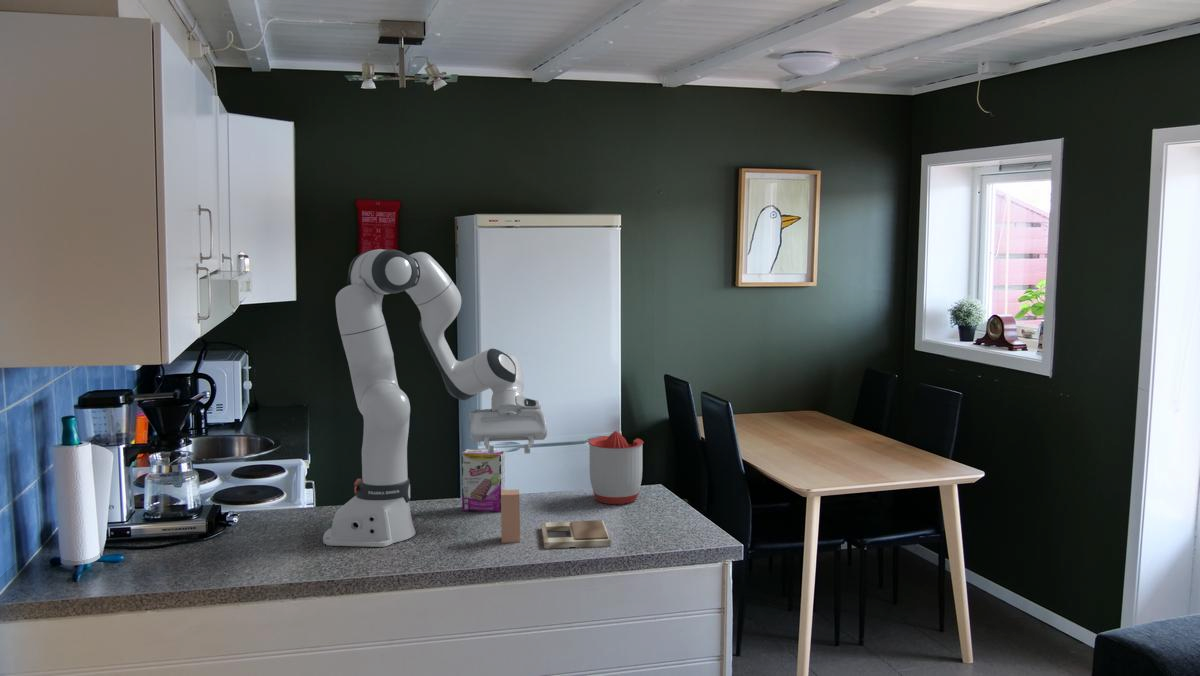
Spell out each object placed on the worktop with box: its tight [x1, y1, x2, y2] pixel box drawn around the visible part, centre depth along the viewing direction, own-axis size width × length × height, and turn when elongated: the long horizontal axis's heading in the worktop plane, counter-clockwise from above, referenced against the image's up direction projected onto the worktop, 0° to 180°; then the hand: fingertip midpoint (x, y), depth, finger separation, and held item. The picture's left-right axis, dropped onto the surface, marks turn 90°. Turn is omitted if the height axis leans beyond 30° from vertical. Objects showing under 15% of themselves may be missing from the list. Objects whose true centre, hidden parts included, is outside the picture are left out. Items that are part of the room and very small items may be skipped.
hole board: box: [541, 519, 612, 550], centre depth 233 cm, size 16×16×2 cm
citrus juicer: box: [588, 430, 644, 505], centre depth 266 cm, size 16×17×20 cm
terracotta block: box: [500, 489, 521, 544], centre depth 230 cm, size 4×4×12 cm
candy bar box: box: [461, 448, 506, 513], centre depth 256 cm, size 11×5×16 cm, turn 84°
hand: (509, 452), depth 241 cm, fingers open, 8 cm apart
